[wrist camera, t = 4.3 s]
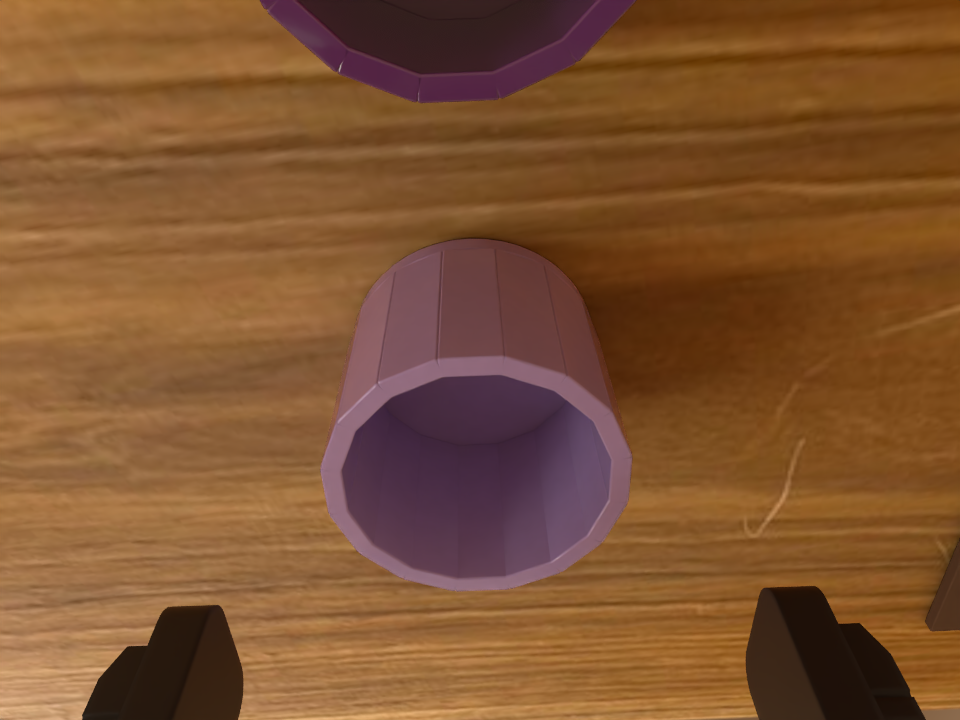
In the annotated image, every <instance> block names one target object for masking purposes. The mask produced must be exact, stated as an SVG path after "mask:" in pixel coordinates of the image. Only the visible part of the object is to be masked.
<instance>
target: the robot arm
mask: <svg viewBox="0 0 960 720" xmlns="http://www.w3.org/2000/svg"><path fill="white" fill-rule="evenodd" d="M746 673H747V680H748V685H749V689H750V693H751V696H752V699H753V702H754V705H755V708H756V711H757V714H758V717H759V720H926V719H925V717H924V715H923V713H922V712H921V710H920V708H919V706H918V704H917V702H916V700H915V698H914V697H911V695H910V689H909V687H908V685H907V683H906V682H905V680H904V678H903V676H902V674H901V672H900V670H899V668H898V667H897V665H896V663H895V661H894V659H893V657H892V655H891V654H890V653H889V652H888V651H887V650H886V649H885V648H884V647H883V646H882V645H881V644H880V643H879V642H878V641H877V640H876V639H875V638H874V637H873V636H872V635H871V634H870V633H869V632H868V631H867V630H866V629H865V628H864V627H863V626H862V625H861V624H860V623H850V624H838V622H837V620H836V618H835V616H834V614H833V612H832V610H831V608H830V606H829V604H828V602H827V599H826V598H825V596H824V594H823V593H822V591H821V590H820V589H819V588H817V587H816V586H801V587H773V588H763V589H762V590H761V592H760V595H759V599H758V603H757V608H756V612H755V616H754V620H753V625H752V629H751V633H750V637H749V642H748V646H747V651H746ZM242 698H243V671H242V666H241V663H240V659H239V656H238V653H237V650H236V647H235V644H234V641H233V638H232V635H231V632H230V629H229V626H228V623H227V620H226V617H225V614H224V611H223V609H222V608H221V607H220V606H219V605H206V606H177V607H167V608H166V609H165V610H164V611H163V612H162V614H161V615H160V617H159V619H158V621H157V624H156V626H155V629H154V631H153V633H152V636H151V638H150V641H149V643H148V646H127V648H126V649H125V650H124V651H123V652H122V653H121V654H120V655H119V657H118V658H117V659H116V660H115V661H114V662H113V663H112V664H111V666H110V667H109V668H108V669H107V670H106V671H105V672H104V673H103V675H102V676H101V677H100V678H99V679H98V682H97V684H96V686H95V688H94V690H93V693H92V695H91V697H90V699H89V701H88V704H87V706H86V708H85V710H84V712H83V715H82V716H83V719H82V720H238V717H239V713H240V709H241V704H242Z"/></svg>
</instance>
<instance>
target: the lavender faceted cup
mask: <svg viewBox="0 0 960 720" xmlns="http://www.w3.org/2000/svg"><path fill="white" fill-rule="evenodd" d="M632 459H633V457H632V452H631V449H630V445H629V442H628V438H627V435H626V432H625V428H624V425H623V421H622V418H621V414H620V411H619V408H618V404H617V401H616V397H615V394H614V390H613V387H612V384H611V380H610V377H609V373H608V370H607V366H606V363H605V360H604V356H603V353H602V349H601V346H600V342H599V339H598V336H597V333H596V331H595V328H594V326H593V324H592V321H591V318H590V315H589V312H588V309H587V306H586V304H585V302H584V300H583V298H582V296H581V294H580V292H579V291H578V290H577V288H576V287H575V285H574V284H573V283H572V281H571V280H570V279H569V278H568V277H567V276H566V275H565V274H564V273H563V272H562V271H561V270H560V269H559V268H558V267H556V266H555V265H554V264H552V263H551V262H550V261H548V260H547V259H545V258H543V257H542V256H540V255H538V254H536V253H535V252H533V251H530V250H528V249H525V248H523V247H521V246H518V245H514V244H510V243H507V242H503V241H497V240H490V239H460V240H451V241H447V242H442V243H438V244H434V245H431V246H429V247H426V248H423V249H420V250H418V251H416V252H414V253H412V254H410V255H408V256H406V257H405V258H403V259H402V260H400V261H399V262H397V263H396V264H395V265H393V266H392V267H391V268H390V269H388V270H387V271H386V272H385V273H384V274H383V275H382V276H381V277H380V278H379V279H378V280H377V282H376V283H375V284H374V285H373V286H372V288H371V289H370V291H369V292H368V294H367V296H366V297H365V299H364V301H363V303H362V305H361V308H360V310H359V313H358V316H357V320H356V324H355V328H354V331H353V334H352V337H351V340H350V343H349V347H348V351H347V355H346V360H345V364H344V368H343V373H342V377H341V381H340V385H339V390H338V394H337V398H336V402H335V407H334V411H333V415H332V420H331V424H330V428H329V432H328V437H327V441H326V445H325V449H324V454H323V458H322V462H321V469H320V472H321V477H322V482H323V487H324V492H325V498H326V503H327V508H328V513H329V514H330V517H331V518H332V519H333V521H334V522H335V523H336V525H337V526H338V527H339V528H340V530H341V531H342V532H343V534H344V535H345V536H346V537H347V539H348V540H349V541H350V543H351V544H352V545H353V546H354V548H355V549H356V550H357V552H359V553H360V554H361V555H363V556H365V557H366V558H368V559H370V560H371V561H373V562H375V563H376V564H378V565H380V566H381V567H383V568H385V569H386V570H388V571H390V572H391V573H393V574H395V575H397V576H398V577H400V578H403V579H405V580H409V581H413V582H417V583H421V584H426V585H430V586H434V587H438V588H443V589H447V590H451V591H455V590H456V591H480V590H504V589H509V588H511V589H512V588H515V587H519V586H522V585H525V584H528V583H531V582H534V581H537V580H540V579H543V578H546V577H549V576H552V575H555V574H559V573H560V572H563V571H564V570H566V569H567V568H568V567H570V566H571V565H573V564H574V563H575V562H577V561H578V560H580V559H581V558H582V557H584V556H585V555H586V554H588V553H589V552H591V551H592V550H593V549H595V548H596V547H598V546H599V545H600V544H601V543H602V542H603V541H604V540H605V538H606V537H607V535H608V534H609V532H610V530H611V529H612V527H613V526H614V524H615V523H616V521H617V519H618V518H619V516H620V515H621V513H622V512H623V510H624V508H625V507H626V505H627V502H628V500H629V491H630V480H631V470H632Z"/></svg>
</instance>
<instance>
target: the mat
mask: <svg viewBox="0 0 960 720" xmlns="http://www.w3.org/2000/svg"><path fill="white" fill-rule="evenodd" d="M925 623H926V624H927V626H928V627H929V629H930V631H950V630H960V539H959V542H958V544H957V547H956V549H955V551H954V554H953V556H952V558H951V561H950V563H949V566H948V568H947V570H946V573H945V575H944V577H943V580H942V582H941V585H940V587H939V589H938V592H937V594H936V596H935V599H934V601H933V604H932V606H931V608H930V611H929V613H928V615H927V618H926V620H925Z"/></svg>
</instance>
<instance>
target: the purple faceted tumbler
mask: <svg viewBox="0 0 960 720" xmlns="http://www.w3.org/2000/svg"><path fill="white" fill-rule="evenodd" d="M636 1H637V0H260V2H261V4H262V6H263V7H264V8H265V9H267V12H268V13H269V15H271V16H272V17H273V18H274V19H275V20H276V21H277V22H279V23H280V24H281V25H282V26H283V27H284V28H285V29H286V30H288V31H289V32H290V33H291V34H292V35H293V36H294V37H296V38H297V39H298V40H299V41H300V42H301V43H302V44H303V45H305V46H306V47H307V48H308V49H309V50H310V51H311V52H313V53H314V54H315V55H316V56H317V57H318V58H319V59H320V60H322V61H323V62H324V63H325V64H326V65H327V66H328V67H330V68H331V69H332V70H333V71H335V72H337V71H338V74H340V75H342V76H344V77H347V78H350V79H353V80H355V81H358V82H361V83H363V84H366V85H369V86H372V87H374V88H377V89H380V90H382V91H385V92H388V93H390V94H393V95H396V96H399V97H401V98H404V99H407V100H409V101H412V102H417V101H418V102H419V103H438V102H462V101H486V100H497V99H499V98H505V97H507V96H509V95H511V94H513V93H516V92H518V91H520V90H522V89H524V88H526V87H528V86H530V85H533V84H535V83H537V82H539V81H541V80H543V79H545V78H547V77H550V76H552V75H554V74H556V73H558V72H560V71H562V70H564V69H567V68H569V67H571V66H573V65H574V64H575V63H576V62H578V61H580V60H581V59H582V58H583V57H584V56H585V55H586V54H587V53H588V52H589V51H590V50H591V48H592V47H593V46H594V45H595V44H596V43H597V42H598V41H599V40H600V39H601V38H602V37H603V36H604V35H605V34H606V33H607V32H608V30H609V29H610V28H611V27H612V26H613V25H614V24H615V23H616V22H617V21H618V20H619V19H620V18H621V17H622V16H623V15H624V14H625V13H626V11H627V10H628V9H629V8H630V7H631V6H632V5H633V4H634V3H635V2H636Z"/></svg>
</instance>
